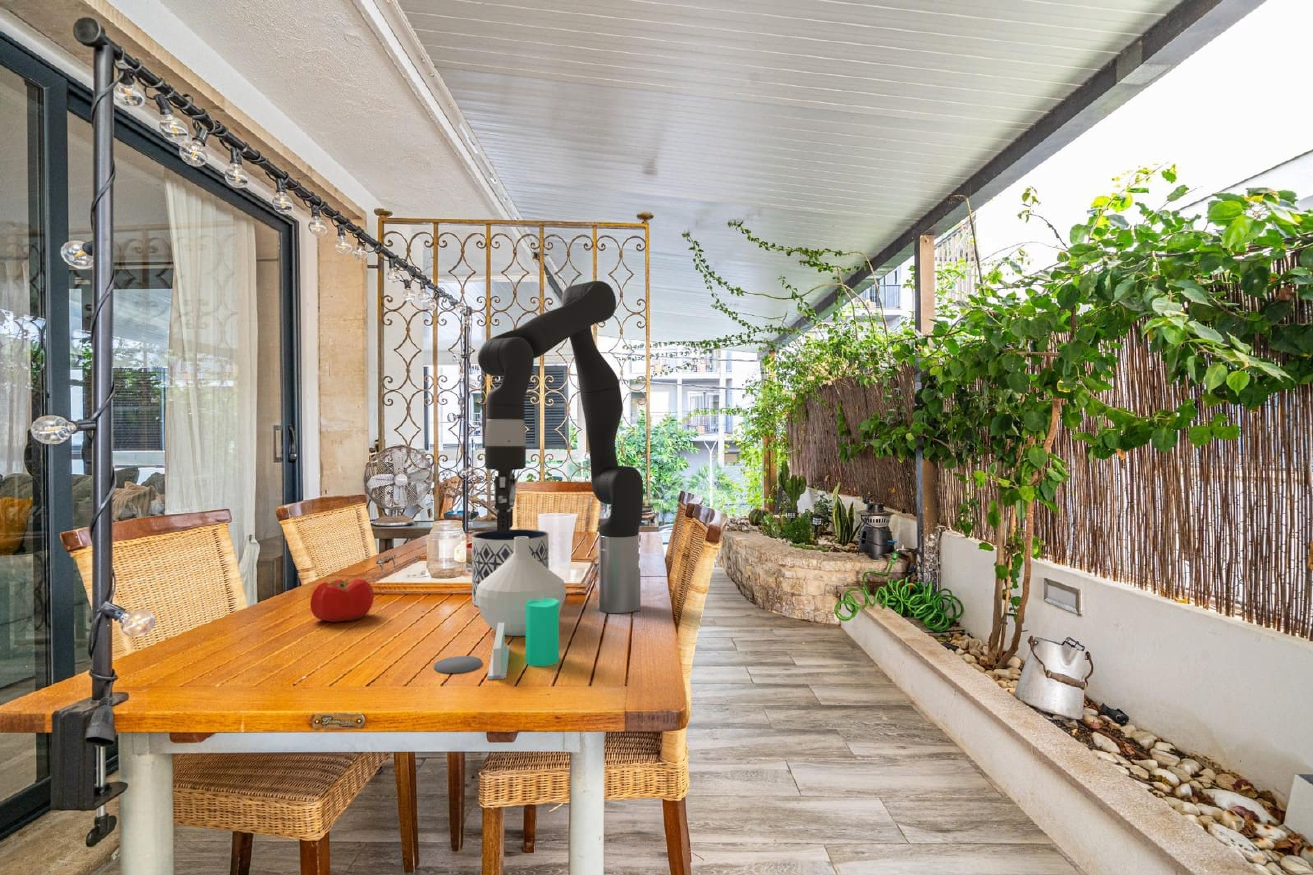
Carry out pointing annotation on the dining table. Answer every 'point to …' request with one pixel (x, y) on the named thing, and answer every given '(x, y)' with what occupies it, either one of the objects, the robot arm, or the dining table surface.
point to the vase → (517, 589)
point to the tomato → (341, 600)
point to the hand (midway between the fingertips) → (505, 530)
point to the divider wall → (499, 655)
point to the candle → (542, 632)
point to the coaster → (458, 664)
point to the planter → (503, 552)
